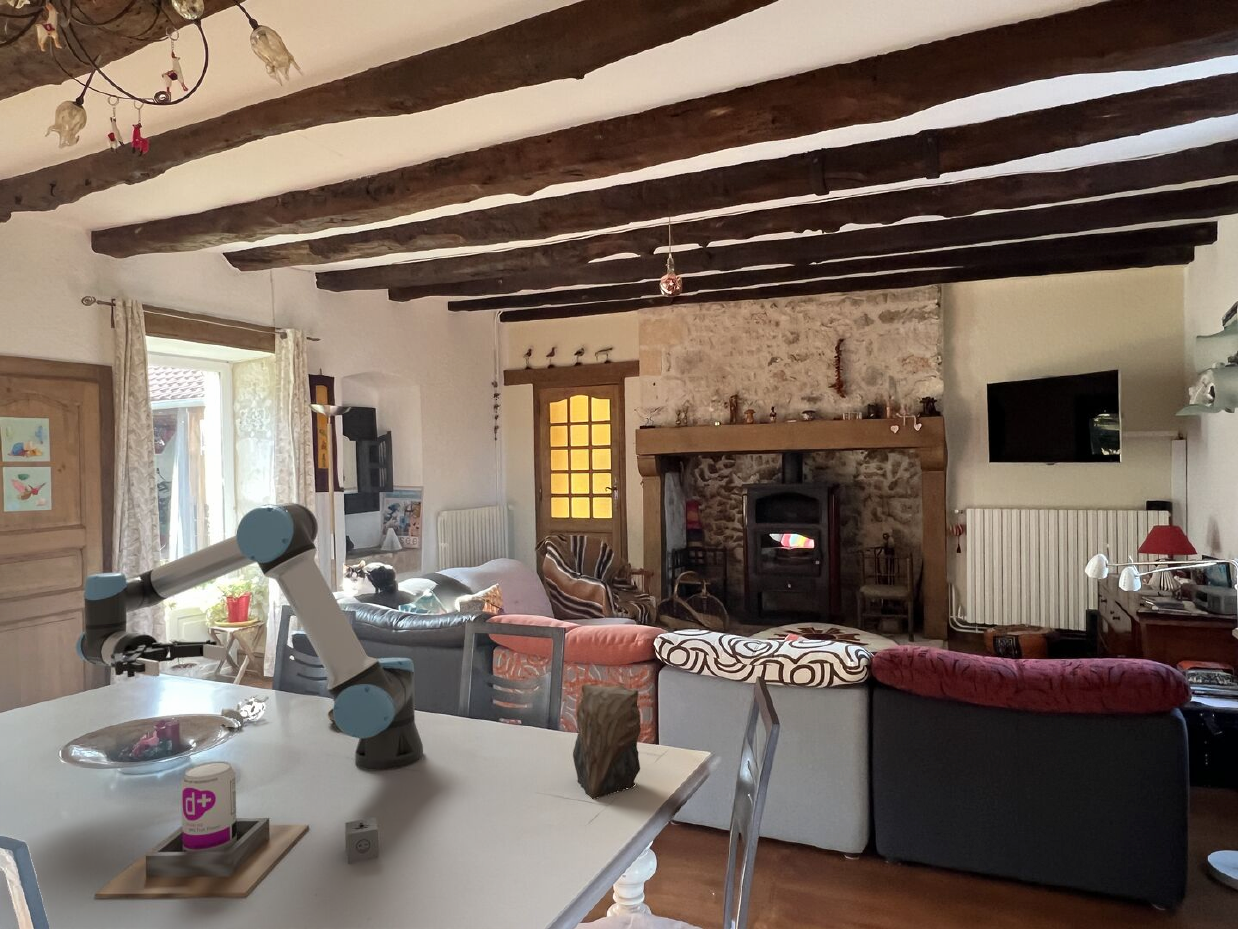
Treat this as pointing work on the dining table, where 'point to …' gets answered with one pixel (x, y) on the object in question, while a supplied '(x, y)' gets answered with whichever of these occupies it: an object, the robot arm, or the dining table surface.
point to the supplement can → (209, 808)
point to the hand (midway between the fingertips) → (192, 661)
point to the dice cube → (361, 840)
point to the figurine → (247, 710)
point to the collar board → (207, 864)
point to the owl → (607, 739)
